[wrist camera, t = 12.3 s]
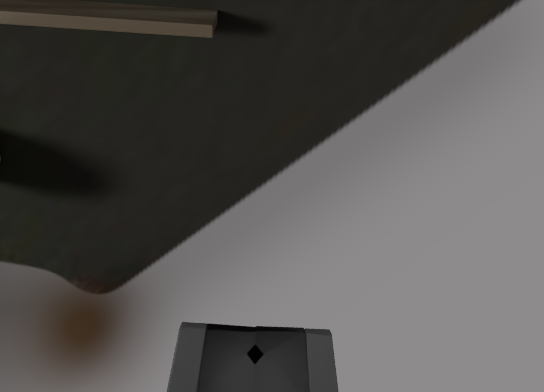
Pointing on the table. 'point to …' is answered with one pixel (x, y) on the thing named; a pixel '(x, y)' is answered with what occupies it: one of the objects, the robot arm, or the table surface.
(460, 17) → the table surface
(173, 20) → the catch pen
